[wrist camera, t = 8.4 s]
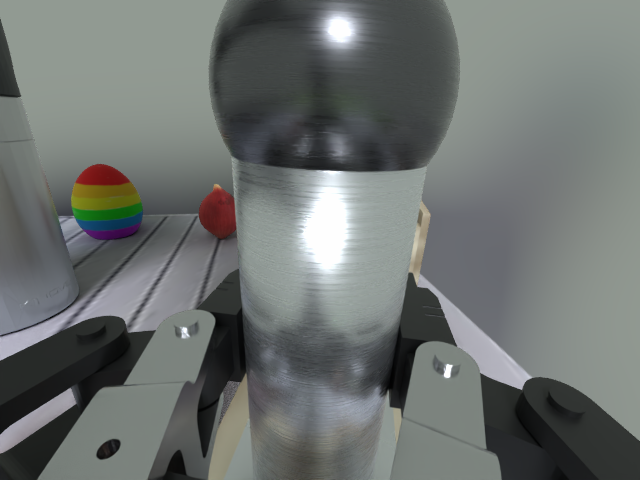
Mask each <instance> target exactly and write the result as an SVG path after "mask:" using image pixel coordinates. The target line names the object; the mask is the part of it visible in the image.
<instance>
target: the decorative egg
mask: <svg viewBox="0 0 640 480" xmlns="http://www.w3.org/2000/svg"><path fill="white" fill-rule="evenodd" d="M71 202H72V210H73V214H74V217H75V219H76V221H77V223H78V224H79V226H80V227H81V228H82V229H83V230H84V231H85V232H86V233H87V234H89V235H90V236H91V237H93V238H96V239H102V240H109V239H117V238H122V237H126V236H129V235H131V234H133V233H135V232H136V231H137V229H138V228H139V226H140V224H141V221H142V216H143V209H142V203H141V199H140V197H139V195H138V192H137V190H136V189H135V187H134V186H133V184H132V183H131V182H130V181H129V179H128V178H127V177H126V176H124V175H123V174H122V173H121V172H119V171H118V170H116V169H115V168H113V167H111V166H108V165H104V164H96V165H93V166H90V167H88V168H87V169H85V170H84V171H83V172H82V174H81V175H80V176H79V177H78V179H77V180H76V182H75V185H74V188H73V191H72V199H71Z"/></svg>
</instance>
